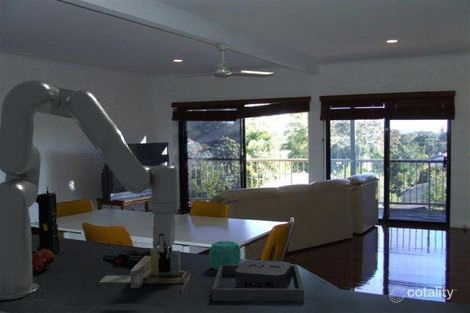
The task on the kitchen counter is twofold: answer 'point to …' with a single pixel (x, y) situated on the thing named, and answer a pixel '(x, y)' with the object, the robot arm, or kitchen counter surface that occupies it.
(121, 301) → the kitchen counter surface
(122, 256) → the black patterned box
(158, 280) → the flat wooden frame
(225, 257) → the decorative dice
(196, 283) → the kitchen counter surface
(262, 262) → the streaming box
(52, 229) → the portable radio
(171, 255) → the latch bar
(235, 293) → the dark rectangular frame
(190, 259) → the kitchen counter surface
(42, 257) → the pomegranate
